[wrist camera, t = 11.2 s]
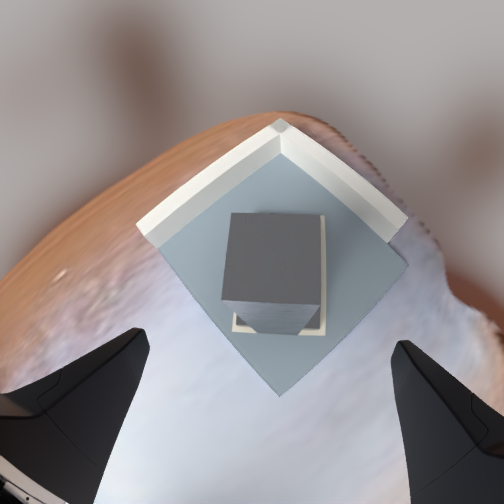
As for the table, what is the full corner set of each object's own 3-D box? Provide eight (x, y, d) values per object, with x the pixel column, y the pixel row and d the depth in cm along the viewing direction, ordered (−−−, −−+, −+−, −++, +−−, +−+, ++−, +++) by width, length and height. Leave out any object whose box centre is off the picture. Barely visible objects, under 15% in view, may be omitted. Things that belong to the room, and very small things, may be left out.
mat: (279, 396, 17) (279, 397, 17) (159, 250, 23) (157, 248, 22) (406, 266, 20) (408, 265, 19) (281, 155, 25) (280, 152, 24)
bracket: (317, 336, 18) (368, 305, 7) (237, 331, 19) (175, 296, 8) (318, 222, 21) (342, 100, 10) (248, 220, 22) (217, 99, 11)
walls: (256, 371, 18) (251, 373, 16) (151, 239, 23) (135, 223, 20) (395, 234, 21) (408, 217, 18) (281, 140, 26) (280, 118, 23)
